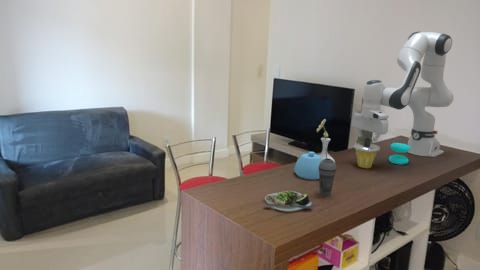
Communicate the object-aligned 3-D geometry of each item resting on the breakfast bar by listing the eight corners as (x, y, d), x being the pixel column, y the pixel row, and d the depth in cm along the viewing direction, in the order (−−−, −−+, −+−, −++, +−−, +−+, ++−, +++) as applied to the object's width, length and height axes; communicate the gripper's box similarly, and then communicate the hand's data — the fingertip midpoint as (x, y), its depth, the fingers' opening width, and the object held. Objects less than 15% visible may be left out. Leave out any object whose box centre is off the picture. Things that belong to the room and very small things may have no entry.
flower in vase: (318, 159, 200) (321, 114, 194) (338, 163, 193) (342, 117, 187) (307, 165, 189) (311, 118, 183) (328, 170, 183) (332, 121, 177)
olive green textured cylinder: (351, 152, 215) (357, 93, 206) (360, 148, 223) (366, 91, 215) (366, 155, 209) (372, 95, 201) (374, 151, 217) (381, 93, 209)
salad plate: (273, 218, 131) (274, 206, 130) (253, 199, 147) (254, 188, 146) (319, 210, 138) (320, 199, 137) (295, 193, 154) (295, 183, 153)
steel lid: (364, 143, 197) (365, 134, 196) (385, 149, 186) (386, 140, 185) (348, 146, 190) (349, 137, 189) (368, 153, 179) (369, 143, 178)
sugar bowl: (288, 175, 175) (289, 152, 172) (305, 167, 186) (306, 146, 183) (315, 183, 165) (317, 159, 162) (331, 175, 176) (333, 152, 173)
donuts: (388, 144, 195) (394, 141, 203) (385, 162, 197) (391, 158, 205) (407, 148, 189) (413, 144, 196) (405, 166, 191) (410, 162, 199)
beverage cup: (330, 199, 148) (334, 152, 143) (313, 195, 152) (317, 149, 147) (336, 193, 154) (340, 148, 149) (319, 189, 158) (323, 145, 153)
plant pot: (372, 163, 195) (374, 146, 193) (377, 170, 185) (379, 151, 183) (352, 162, 196) (354, 145, 194) (356, 168, 186) (358, 150, 184)
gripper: (350, 109, 191) (348, 135, 194) (383, 116, 174) (379, 144, 177) (358, 109, 194) (356, 134, 197) (391, 115, 177) (388, 143, 180)
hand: (367, 139), depth 187 cm, fingers open, 8 cm apart
